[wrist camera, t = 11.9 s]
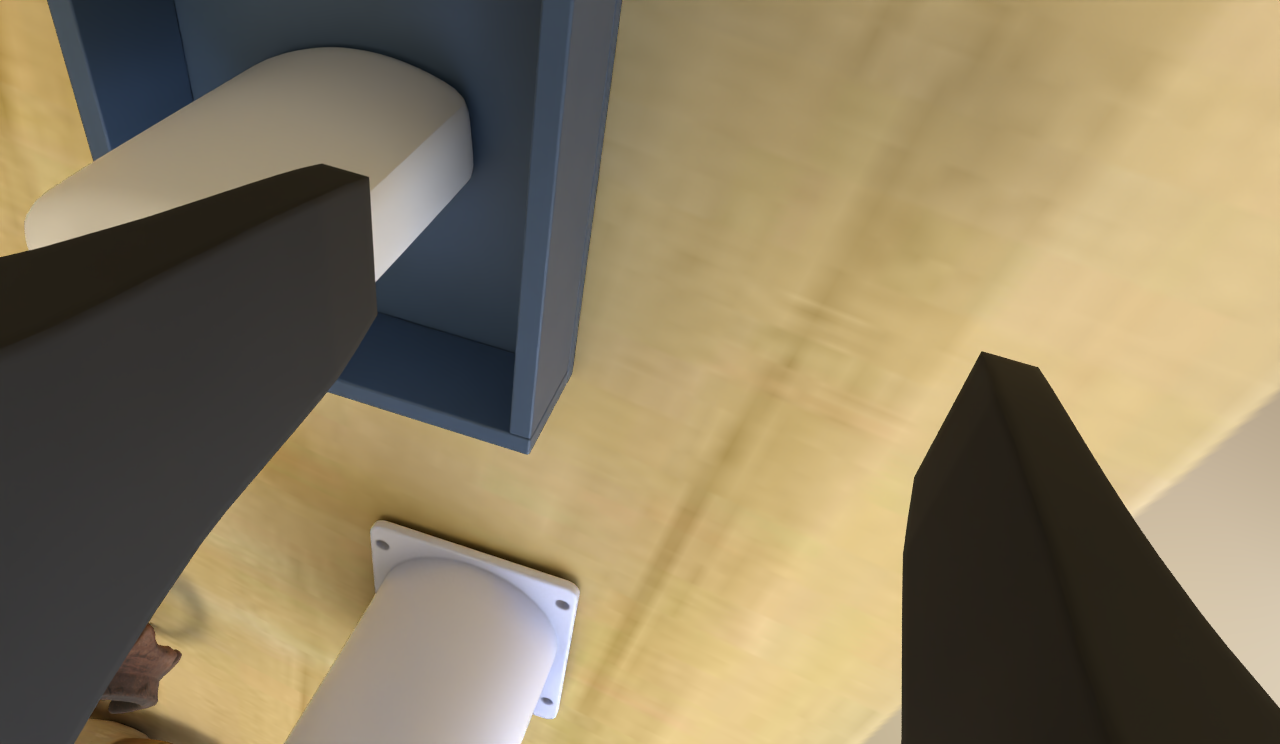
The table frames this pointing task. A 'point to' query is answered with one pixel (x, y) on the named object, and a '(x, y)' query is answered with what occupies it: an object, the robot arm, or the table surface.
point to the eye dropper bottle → (284, 147)
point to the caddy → (466, 227)
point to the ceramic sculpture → (112, 734)
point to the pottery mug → (140, 674)
